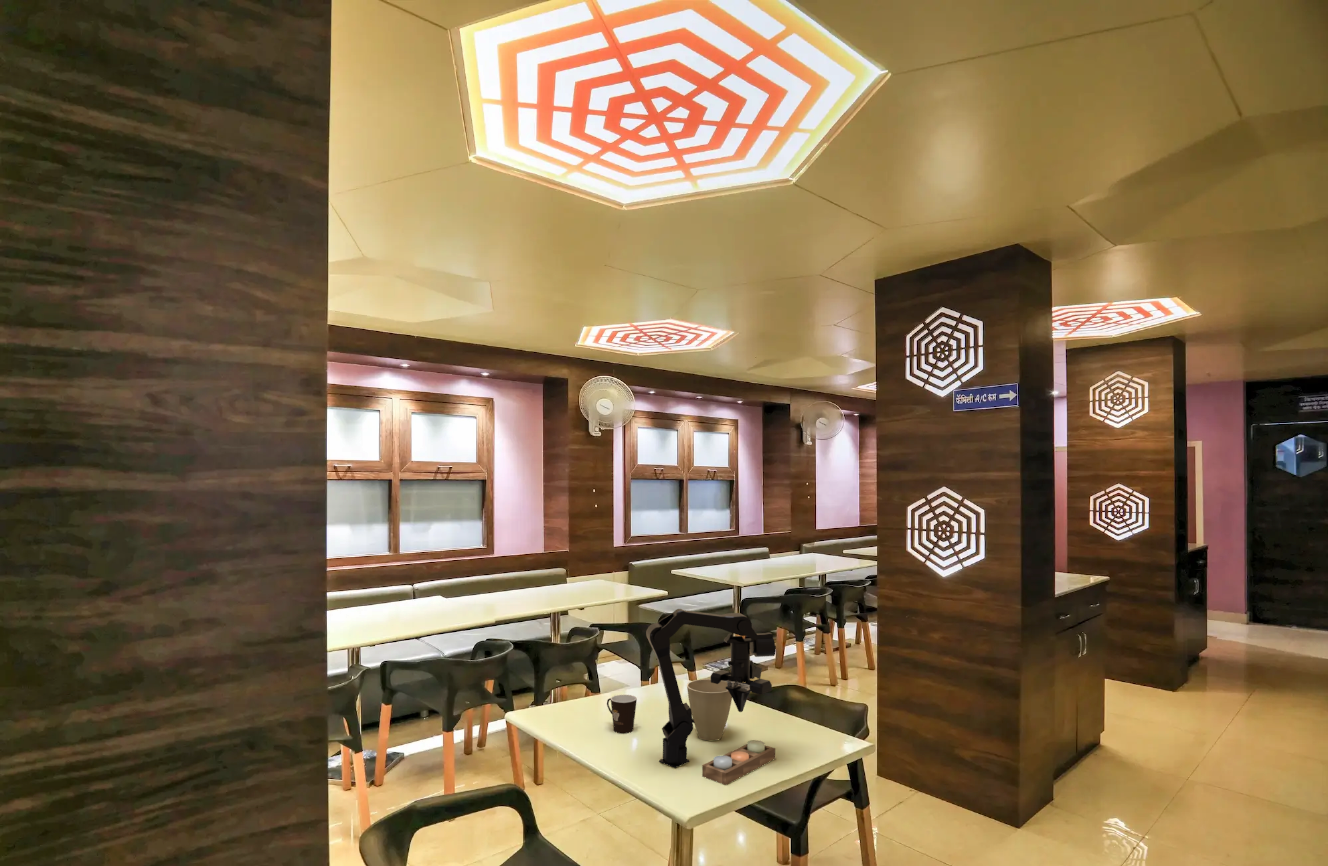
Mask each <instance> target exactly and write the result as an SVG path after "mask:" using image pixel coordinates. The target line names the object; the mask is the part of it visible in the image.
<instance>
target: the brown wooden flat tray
mask: <svg viewBox="0 0 1328 866" xmlns="http://www.w3.org/2000/svg"><path fill="white" fill-rule="evenodd" d="M736 751H741V752H746V753H748V754H749V759H747V760H745V761H743V762H741V761H738V760H735V759H732V767H731V768H729V769H727V770H725V771H724V770H721V769H719V768H716V767H714V759H712V760H710V761H708V762H705V763H703V764H702V766H701V767H702V772H701V773H702V774H701V775H702V776H701V777H703V778H705V777H706V778H705V779H708V780H710V779H711V781H713V782H716V781H717V782H716V783H718V784H721V783H722V785H724V786H727V785H728V784H731V783H732V781H733V782H734V780H735V781H736V779H737V780H738V779H740V778H742V777H744V776H745V775H748V774H749V773H752V772H753V770H754V771H755V770H757V769H759V768H761V767H763V766H765V765H767V764H768V762H769V761H771V762H773V761H774V760H776V748H775V747H772V746H768V745H765V751H763V752H761V753H759V754H758V753H754V752H751V751H748V750H747V743H746V744H743V746H740V747H738V748H735V749H733V750H731V751H729V752H727V753H725V754H723V756H728V757H731V753H733V752H736ZM773 759H774V760H773ZM772 760H773V761H772ZM766 763H767V764H766ZM769 763H770V762H769ZM764 764H765V765H764ZM762 765H763V766H762ZM758 767H759V768H758ZM751 771H752V772H751ZM747 773H748V774H747ZM743 775H744V776H743ZM739 777H740V778H739Z"/></svg>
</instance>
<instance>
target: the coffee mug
mask: <svg viewBox="0 0 1328 866" xmlns="http://www.w3.org/2000/svg"><path fill="white" fill-rule="evenodd" d="M637 700H638V697H636V696H635V695H632V694H617V695H616V694H615V695H613V696H612V697H610V698H608V699H607V700H606V701H607V702H606V706H607V709H608V711H609V712H610V714H611V715H612V717H611V718H612V724H613V725H612V726H613V731H614V732H615V733H616V732H617V733H616V734H623V735H624V734H629V732H630V733H632V732H633V731H634V728H635V727H634V725H635V719H636V708H637ZM609 703H610V705H611V707H610V705H609Z"/></svg>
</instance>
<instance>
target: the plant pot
mask: <svg viewBox="0 0 1328 866" xmlns="http://www.w3.org/2000/svg"><path fill="white" fill-rule="evenodd" d="M726 686H727V682H726V681H722V680H721V682H720V683H719V684H715V683H711V678H702V679H701V678H700V679H695V680H694V679H693V680H692V681H689V682H688V683H687V684H686V687H687V689H686V690H687V696H688V702H689V707H690V708H691V712H692V718H693V720H694V722H695V723H693V725H694V727H695V731H696V733H697V736H698V738H699V739H701V740H703V741H707V740H715V741H718V739H719V740H720V739H722V737H723V735H724V732H725V728H726V725H727V721H728V719H729V714H730V710H731V705H732V700H733V698H732V696H731V695H730V693H729V691H728V690H727V689H726Z"/></svg>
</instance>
